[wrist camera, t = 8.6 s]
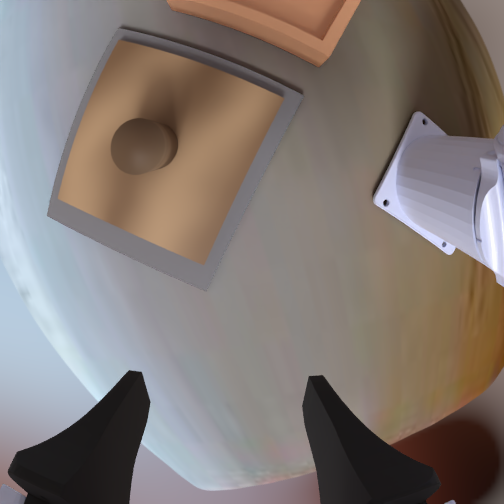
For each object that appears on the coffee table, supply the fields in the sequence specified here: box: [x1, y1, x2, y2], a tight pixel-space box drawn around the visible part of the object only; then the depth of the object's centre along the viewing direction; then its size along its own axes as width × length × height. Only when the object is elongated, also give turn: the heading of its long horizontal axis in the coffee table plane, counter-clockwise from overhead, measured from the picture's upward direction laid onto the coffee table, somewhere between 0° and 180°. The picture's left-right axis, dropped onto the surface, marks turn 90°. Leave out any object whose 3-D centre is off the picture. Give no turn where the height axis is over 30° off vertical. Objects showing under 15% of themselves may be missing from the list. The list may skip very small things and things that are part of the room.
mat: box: [47, 28, 304, 291], centre depth 18 cm, size 14×15×1 cm
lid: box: [58, 40, 285, 265], centre depth 15 cm, size 12×12×4 cm
